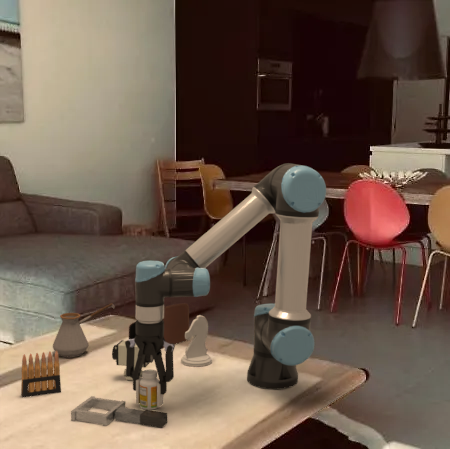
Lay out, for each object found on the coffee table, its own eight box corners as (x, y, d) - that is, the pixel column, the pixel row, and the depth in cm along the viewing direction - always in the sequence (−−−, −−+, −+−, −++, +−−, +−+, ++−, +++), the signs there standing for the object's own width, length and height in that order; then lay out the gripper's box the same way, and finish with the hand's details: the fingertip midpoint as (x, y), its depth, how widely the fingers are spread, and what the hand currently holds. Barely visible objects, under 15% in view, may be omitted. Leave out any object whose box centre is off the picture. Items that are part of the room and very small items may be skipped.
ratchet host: (172, 417, 196) (172, 407, 195) (156, 433, 185) (156, 423, 185) (91, 405, 203) (91, 395, 202) (71, 420, 192) (71, 410, 192)
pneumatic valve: (150, 383, 219) (150, 343, 218) (111, 380, 222) (111, 340, 220) (155, 377, 225) (155, 338, 223) (118, 373, 227) (118, 335, 225)
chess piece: (175, 360, 241) (175, 314, 239) (201, 355, 246) (202, 310, 244) (190, 369, 233) (191, 321, 230) (217, 363, 238) (218, 317, 236)
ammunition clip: (22, 397, 207) (21, 355, 205) (21, 395, 209) (20, 353, 207) (61, 392, 212) (60, 351, 210) (59, 390, 213) (59, 349, 211)
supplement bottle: (160, 402, 205) (160, 368, 204) (159, 410, 200) (159, 375, 198) (140, 402, 205) (140, 368, 203) (138, 410, 200) (138, 375, 198)
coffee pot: (60, 361, 237) (60, 315, 235) (47, 351, 247) (46, 307, 245) (122, 350, 249) (121, 306, 247) (107, 341, 259) (106, 299, 257)
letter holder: (189, 340, 262) (189, 300, 260) (148, 353, 247) (148, 311, 245) (168, 334, 269) (169, 296, 267) (127, 347, 254) (127, 306, 251)
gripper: (187, 319, 200) (186, 403, 203) (124, 312, 205) (124, 394, 209) (177, 326, 193) (176, 413, 196) (111, 319, 198) (112, 404, 202)
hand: (149, 403), depth 202 cm, fingers closed on supplement bottle, 5 cm apart
